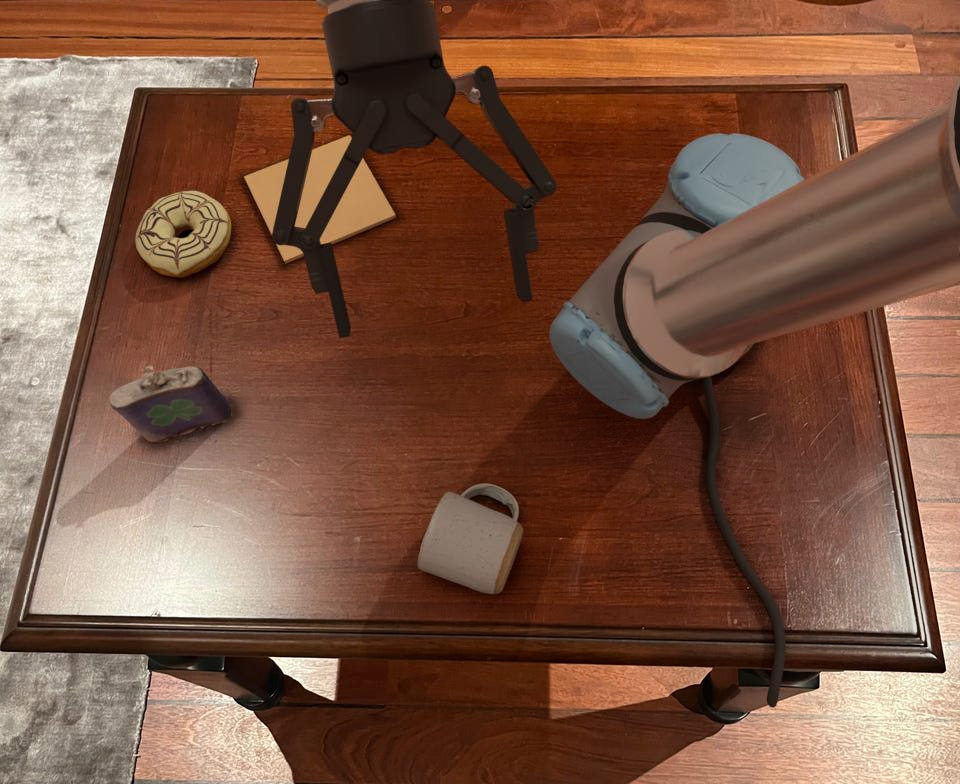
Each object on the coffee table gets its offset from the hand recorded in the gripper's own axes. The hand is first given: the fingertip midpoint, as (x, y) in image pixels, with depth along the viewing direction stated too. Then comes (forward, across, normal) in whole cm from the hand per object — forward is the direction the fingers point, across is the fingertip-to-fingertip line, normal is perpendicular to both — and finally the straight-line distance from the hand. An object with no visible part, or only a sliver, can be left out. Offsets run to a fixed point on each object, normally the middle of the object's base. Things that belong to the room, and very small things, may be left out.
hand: (435, 315), depth 59 cm
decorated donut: (-4, +26, -40) cm, 47 cm away
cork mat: (-7, +10, -42) cm, 43 cm away
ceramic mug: (+25, 0, -10) cm, 27 cm away
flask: (+12, +27, -23) cm, 37 cm away
